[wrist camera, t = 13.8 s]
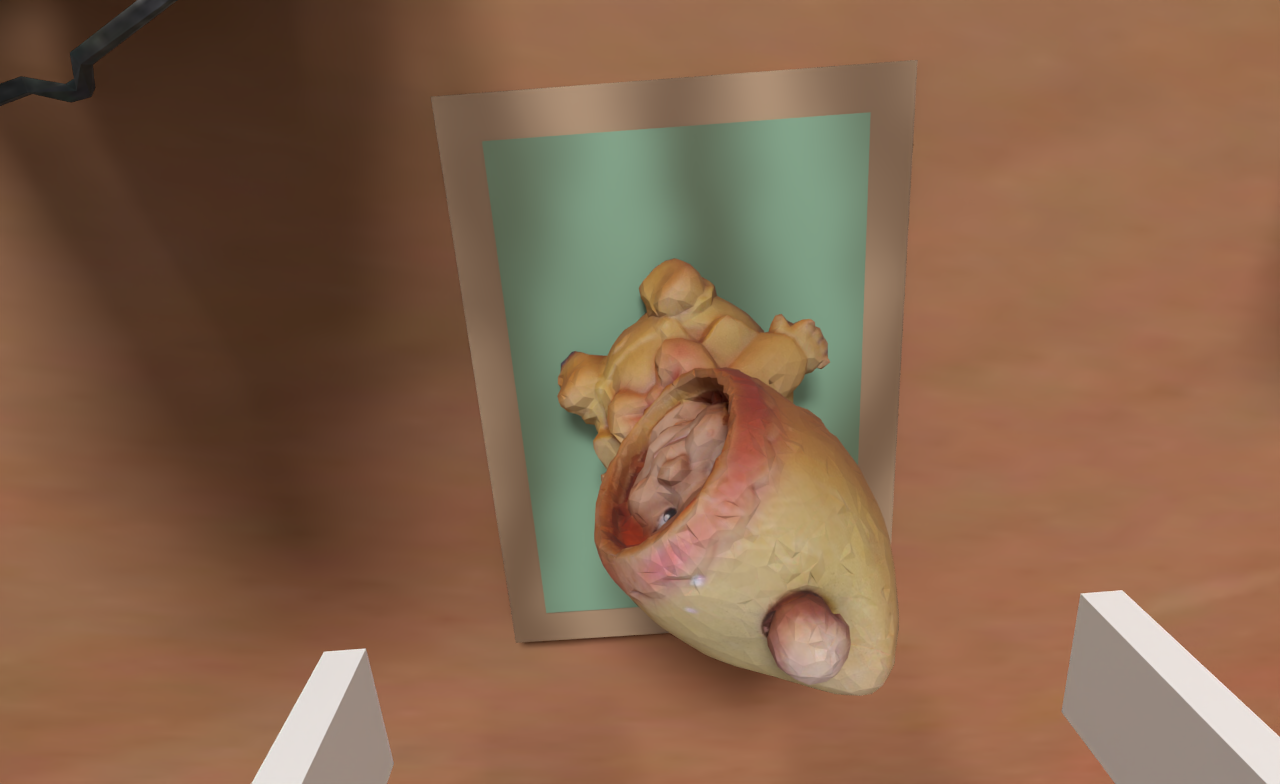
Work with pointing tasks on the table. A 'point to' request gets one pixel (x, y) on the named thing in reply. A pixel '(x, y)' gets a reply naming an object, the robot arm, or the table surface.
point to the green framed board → (641, 240)
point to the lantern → (87, 56)
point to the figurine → (735, 491)
